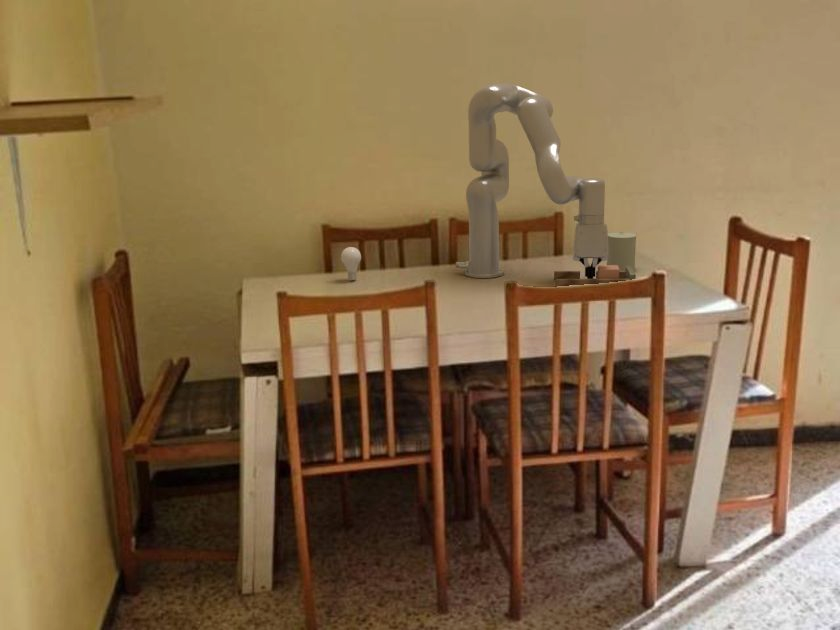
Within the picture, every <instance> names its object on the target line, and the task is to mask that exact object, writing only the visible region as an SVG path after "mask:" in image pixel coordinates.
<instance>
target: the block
mask: <svg viewBox="0 0 840 630" xmlns="http://www.w3.org/2000/svg"><path fill="white" fill-rule="evenodd" d="M597 271H598V277H597V279H619V267H618V265H607V264H598V265H597Z"/></svg>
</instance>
